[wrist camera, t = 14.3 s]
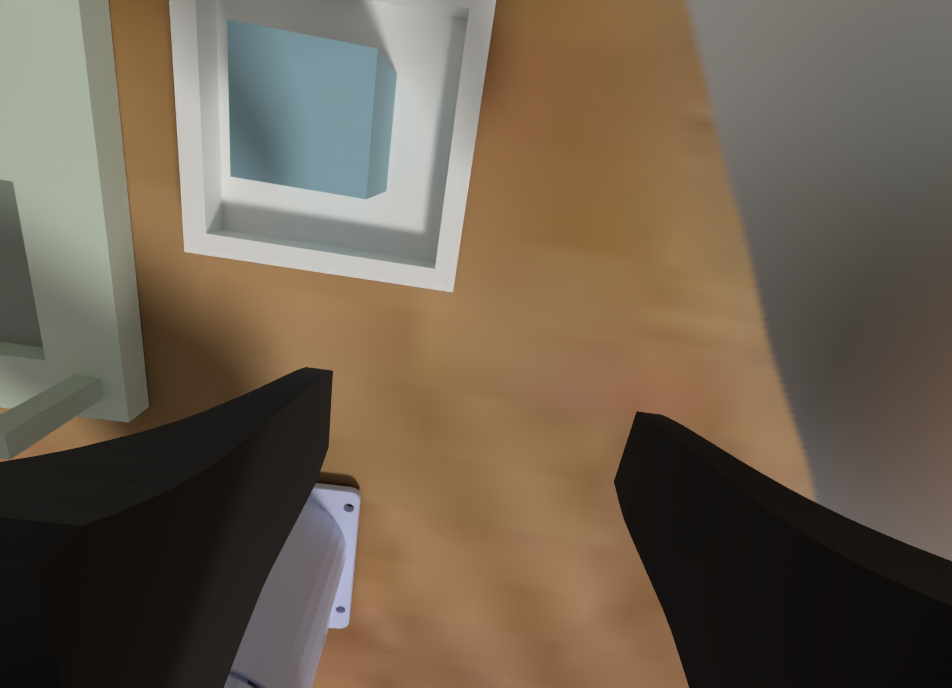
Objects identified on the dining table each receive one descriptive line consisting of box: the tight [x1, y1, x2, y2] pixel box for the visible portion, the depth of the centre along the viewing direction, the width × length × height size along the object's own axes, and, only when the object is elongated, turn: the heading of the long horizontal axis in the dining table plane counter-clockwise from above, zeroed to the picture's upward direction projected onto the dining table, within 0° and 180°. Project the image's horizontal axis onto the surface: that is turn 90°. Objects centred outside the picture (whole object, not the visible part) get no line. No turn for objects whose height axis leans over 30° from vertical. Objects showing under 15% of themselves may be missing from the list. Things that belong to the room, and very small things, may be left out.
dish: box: [169, 0, 496, 292], centre depth 17 cm, size 10×10×2 cm
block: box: [227, 19, 397, 199], centre depth 15 cm, size 4×4×4 cm
